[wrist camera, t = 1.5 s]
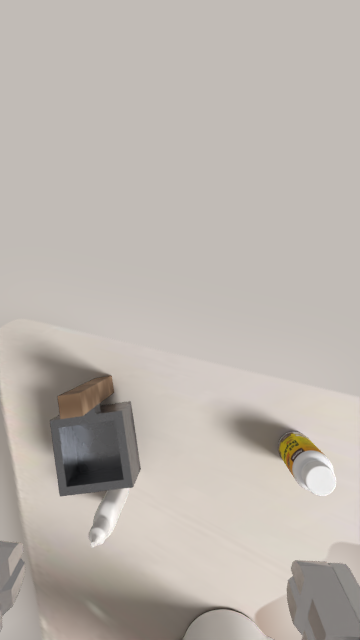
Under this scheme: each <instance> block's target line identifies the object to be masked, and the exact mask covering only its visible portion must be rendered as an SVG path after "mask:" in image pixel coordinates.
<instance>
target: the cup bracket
mask: <svg viewBox="0 0 360 640" xmlns="http://www.w3.org/2000/svg"><path fill="white" fill-rule="evenodd" d="M113 393H114V389H113V382H112V376H107V377H100V378H95V379H93V380H91V381H89V382H87V383H84V384H82V385H80V386H78V387H76V388H74V389H72V390H70V391H68V392H65V393H63V394H61V395H59V396H57V397H58V404H59V411H60V415H58V416H57V417H55V418H54V419H52V420H50V426H51V433H52V441H53V449H54V456H55V464H56V471H57V479H58V486H59V494H60V496H67V495H75V494H83V493H91V492H99V491H107V490H115V489H123V488H131V487H133V486H134V484H135V481H136V479H137V477H138V474H139V472H140V469H141V468H140V461H139V454H138V447H137V441H136V434H135V427H134V420H133V413H132V407H131V401H129V402H122V403H115V404H108V405H101V406H100V403H101V402H102V401H103V400H105V399H106V398H107V397H109V396H110V395H111V394H113Z"/></svg>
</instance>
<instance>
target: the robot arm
mask: <svg viewBox="0 0 360 640" xmlns="http://www.w3.org/2000/svg"><path fill="white" fill-rule="evenodd" d="M23 552H24V549H23V543H19V542H7V541H0V631H1V629H2V616H3V615H4V614H5V613H6V612H7V611H8V610H9V609H10V608H11V607H12V606H13V604H14V602H15V600H16V598H17V596H18V594H19V591H20V588H21V585H22V582H23V579H24V573H25V563H24V561H23V560H22V559H21V556H22V554H23ZM291 571H292V574H293V577H291V578H290V579H289V580H288V584H287V601H288V605H289V611H290V615H291V618H292V621H293V624H294V625H295V626H296V628H297V629H298V631H299V632H300V633H301V634H302V640H360V587H359V585H358V583H357V581H356V579H355V577H354V576H353V574H352V572H351V570H350V568H349V567H348V566H347V565H346V564H343V563H327V562H320V561H298V560H295V561H294V562H292V566H291ZM183 640H274V639H272V638H271V637H269V636H266V635H265V634H264V633H263V632H262V631H261V630H260V629H259V627H258V626H257V625H256V624H255V623H254V622H253V621H252V620H250V619H249V618H248V617H246V616H245V615H243V614H241V613H238V612H235V611H232V610H225V609H219V610H213V611H209V612H206V613H204V614H202V615H201V616H199V617H198V618H197V619H195V620H194V621H193V622H192V624H191V625H190V626H189V628H188V629H187V631H186V634H185V636H184V638H183Z"/></svg>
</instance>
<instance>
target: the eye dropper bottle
mask: <svg viewBox="0 0 360 640" xmlns="http://www.w3.org/2000/svg"><path fill="white" fill-rule="evenodd" d="M128 494H129V488H123V489H115V490H107V492H106V494H105V496H104V497H103V499H102V501H101V503H100V505H99V506H98V508H97V511H96V513H95V516H94V521H93V526H92V528H91V530H90V532H89V540H90V542H91V544H90V545H91V547H95V546H96V545H100V544H102V543H103V542H104V541H105V539H106V538H108V537H109V535H110V534H111V533H112V531H113V530H114V528H115V525H116V523H117V521H118V518H119V516H120V514H121V511H122V509H123V506H124V504H125V502H126V499H127V497H128Z"/></svg>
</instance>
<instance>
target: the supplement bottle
mask: <svg viewBox="0 0 360 640" xmlns="http://www.w3.org/2000/svg"><path fill="white" fill-rule="evenodd" d="M278 451H279V454H280V456H281V458H282V459H283V461H284V463H285V464H286V466H287V467H288V469H289V470H290V472H291V474H292V475H293V477H294V478H295V480H296V481H297V483H298V484H299V485H300V486H301V487H303V488H304V489H306V490H309V491H311V492H312V493H313V494H315V495H318V496H325V495H328V494H330V493H331V492H332V491H333V490H334V489H335V486H336V477H335V475H334V471H333V466H332V464H331V462H330V460H329V459H328V458H327V457H326V456H325V455H324V454H323V453H322V452H321V451H320V450H319V449H318V448H317V447H316V446H315V445H314V444H313V443H312V442H311V441H310V440H309V439H308V438H307V437H306V436H305V435H303V434H302V433H299V432H289V433H286V434H285V435H283V436H282V437H281V439H280V441H279V444H278Z"/></svg>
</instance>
